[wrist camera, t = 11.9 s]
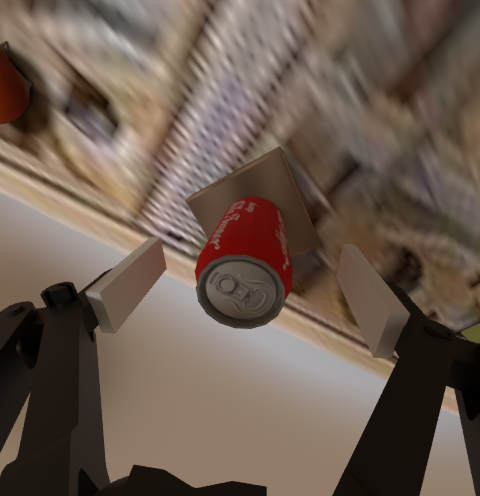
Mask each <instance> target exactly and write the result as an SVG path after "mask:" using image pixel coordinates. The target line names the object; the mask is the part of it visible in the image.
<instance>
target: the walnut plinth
mask: <svg viewBox="0 0 480 496" xmlns="http://www.w3.org/2000/svg"><path fill="white" fill-rule="evenodd" d="M245 197H260V198H263V199H266V200H268V201H270V202H271V203H272V204H274V205H275V206H276V207H277V208H278V209H279V211H280V214H281V216H282V218H283V221H284V227H285V232H286V238H287V243H288V249H289V254H290V258H291V257H294V256H296V255H299V254H302V253H304V252H307V251H310V250H312V249H315V248H317V247H320V246H321V243H320V241H319V239H318V236H317V234H316V231H315V229H314V227H313V224H312V222H311V219H310V217H309V214H308V212H307V210H306V207H305V205H304V202H303V200H302V198H301V195H300V193H299V190H298V188H297V185H296V183H295V181H294V178H293V176H292V173H291V171H290V169H289V166H288V164H287V161H286V159H285V156H284V154H283V152H282V149H281V147H277V148H276V149H274V150H272V151H270V152H268V153H267V154H265V155H263V156H261V157H259V158H258V159H256V160H254V161H252V162H250V163H249V164H247V165H245V166H243V167H241V168H240V169H238V170H236V171H234V172H232V173H230V174H229V175H227V176H225V177H223V178H221V179H220V180H218V181H216V182H214V183H212V184H211V185H209V186H207V187H205V188H203V189H202V190H200V191H198V192H196V193H194V194H193V195H192V196H190V197H189V198H187V199H186V200H185V202H186V203H187V205H188V206H189V208H190V210H191V211H192V213H193V215H194V216H195V218H196V219H197V221H198V223H199V224H200V226H201V227H202V229H203V231H204V232H205V234H206V236H207V237H208V239H210V237H211V236H212V234H213V232H214V231H215V229H216V227H217V226H218V224H219V223H220V221H221V219H222V218H223V216H224V214H225V213H226V211H227V210H228V209H229V208H230V207H231V205H232V204H233V203H234V202H236V201H238V200H240V199H242V198H245Z"/></svg>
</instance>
